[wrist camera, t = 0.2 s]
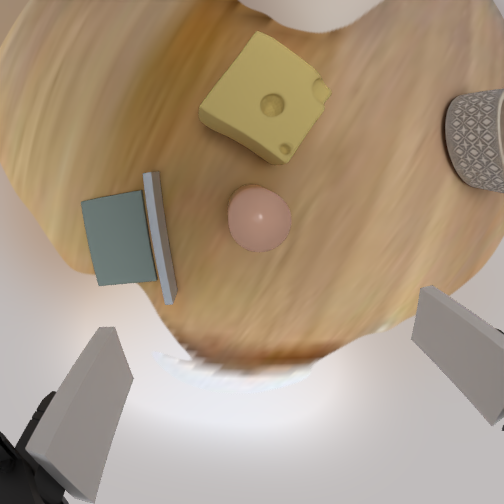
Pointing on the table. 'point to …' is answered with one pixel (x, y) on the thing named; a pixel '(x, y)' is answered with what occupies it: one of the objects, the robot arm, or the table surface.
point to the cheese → (266, 100)
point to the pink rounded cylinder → (258, 218)
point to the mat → (119, 239)
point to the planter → (477, 138)
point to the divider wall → (160, 235)
